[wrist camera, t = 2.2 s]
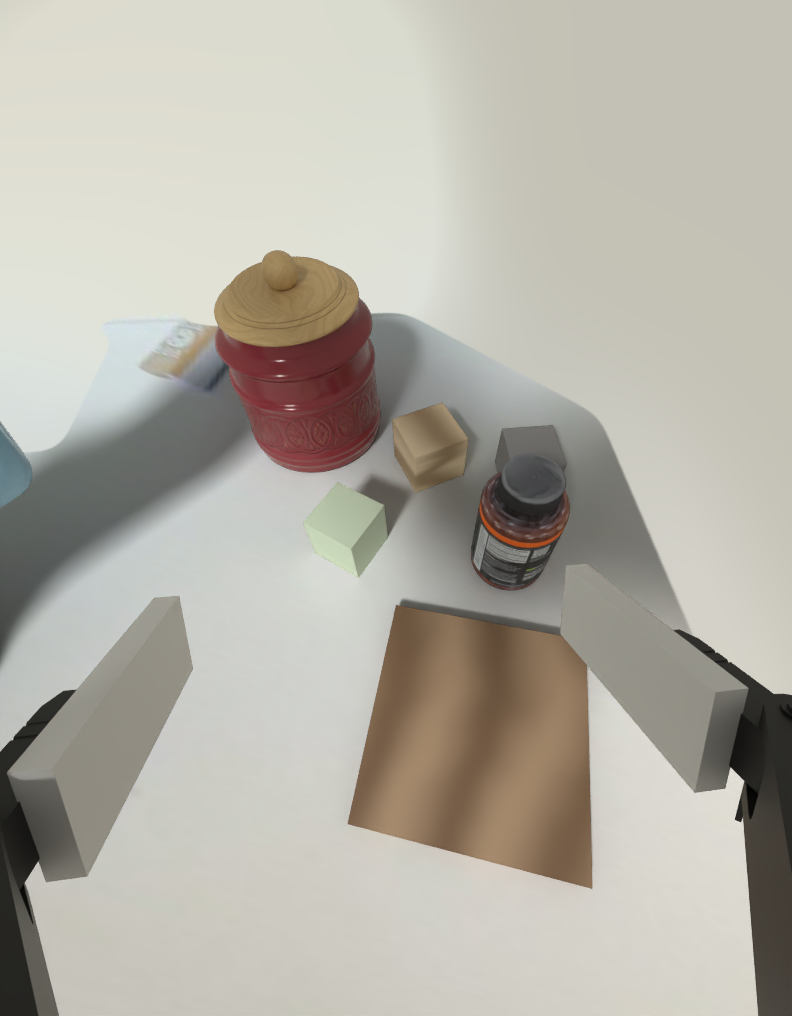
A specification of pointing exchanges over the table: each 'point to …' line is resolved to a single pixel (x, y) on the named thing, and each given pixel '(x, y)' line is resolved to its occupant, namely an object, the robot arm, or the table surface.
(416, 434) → the beech block
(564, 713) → the plate
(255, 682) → the table surface
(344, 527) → the sage block
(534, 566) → the supplement bottle
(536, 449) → the grey block
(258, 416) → the canister
